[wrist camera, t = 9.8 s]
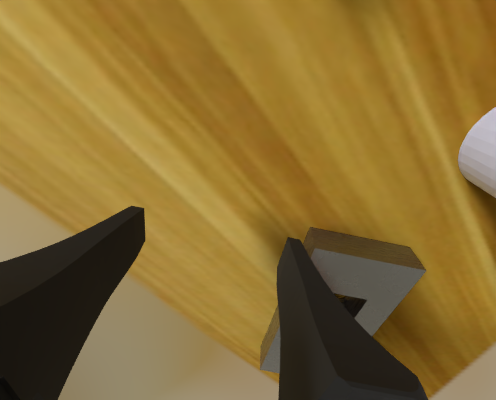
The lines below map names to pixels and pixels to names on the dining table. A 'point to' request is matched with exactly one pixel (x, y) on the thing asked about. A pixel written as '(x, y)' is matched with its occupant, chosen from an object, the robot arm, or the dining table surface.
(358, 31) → the dining table surface
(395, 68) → the dining table surface
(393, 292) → the rail
